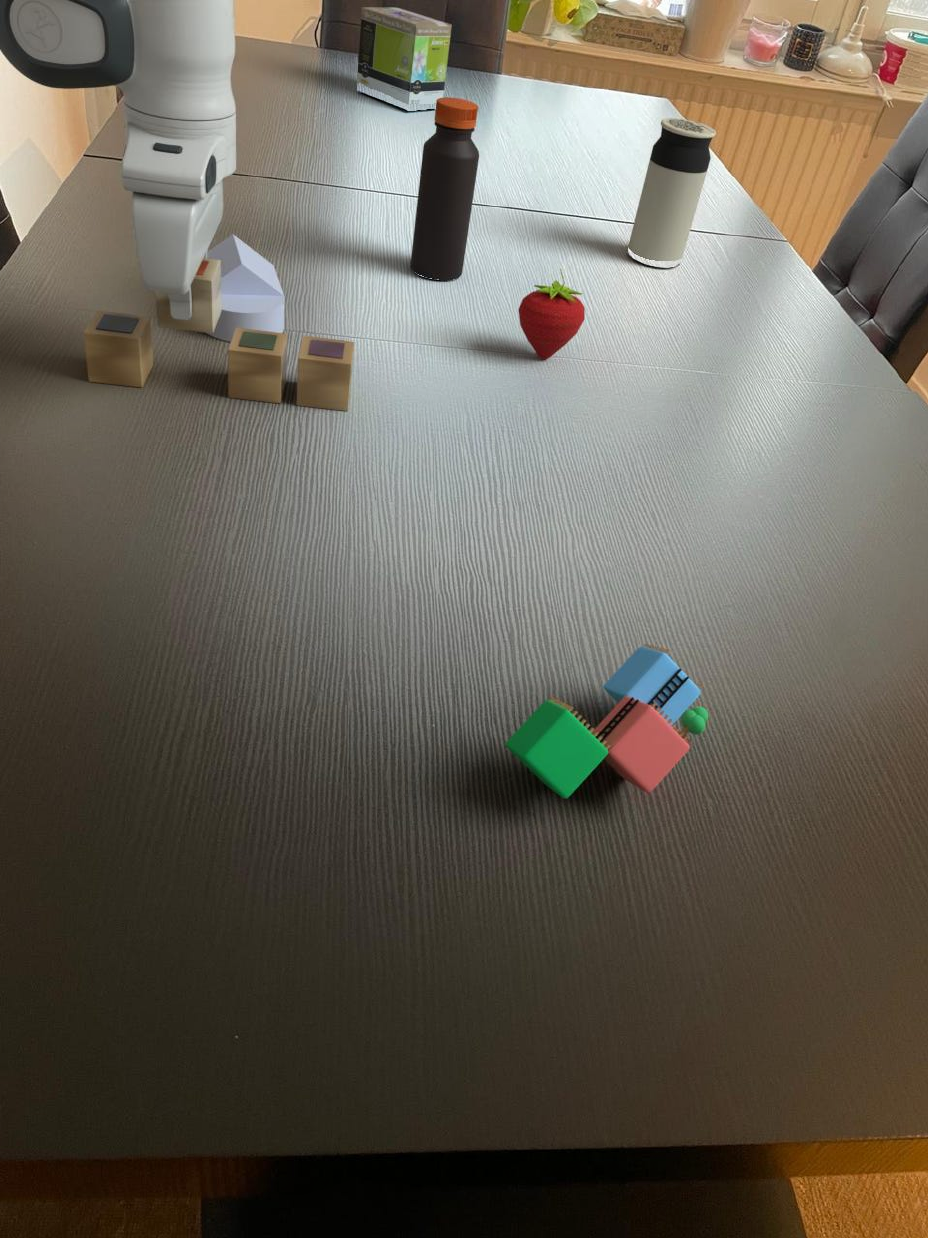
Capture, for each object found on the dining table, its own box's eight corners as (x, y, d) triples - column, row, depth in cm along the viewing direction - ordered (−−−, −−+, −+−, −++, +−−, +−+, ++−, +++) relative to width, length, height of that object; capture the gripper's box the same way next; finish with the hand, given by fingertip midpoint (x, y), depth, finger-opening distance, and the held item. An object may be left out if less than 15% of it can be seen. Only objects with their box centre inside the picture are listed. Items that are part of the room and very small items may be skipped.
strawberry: (504, 345, 113) (519, 259, 107) (565, 347, 115) (584, 262, 109) (517, 369, 109) (534, 280, 102) (581, 371, 111) (602, 284, 104)
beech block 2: (228, 397, 95) (227, 348, 92) (235, 374, 99) (235, 325, 95) (280, 403, 95) (281, 354, 92) (286, 380, 99) (287, 332, 96)
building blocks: (563, 807, 68) (679, 680, 69) (610, 843, 60) (739, 700, 61) (485, 731, 66) (605, 602, 67) (523, 759, 58) (658, 612, 59)
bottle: (400, 271, 126) (418, 99, 113) (424, 257, 131) (444, 91, 118) (447, 286, 124) (471, 114, 111) (470, 271, 129) (495, 105, 116)
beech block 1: (88, 381, 93) (82, 330, 90) (101, 358, 97) (96, 308, 94) (142, 388, 94) (139, 337, 91) (153, 364, 98) (150, 315, 94)
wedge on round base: (192, 291, 112) (202, 342, 103) (190, 232, 108) (201, 279, 98) (272, 293, 115) (289, 343, 105) (274, 235, 110) (291, 282, 101)
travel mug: (637, 268, 139) (672, 131, 128) (619, 247, 145) (651, 114, 134) (688, 271, 141) (727, 137, 130) (668, 250, 147) (704, 120, 136)
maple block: (157, 327, 90) (153, 272, 87) (168, 305, 94) (165, 251, 91) (213, 333, 91) (211, 279, 87) (221, 311, 94) (220, 258, 91)
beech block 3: (296, 405, 96) (298, 356, 92) (301, 381, 99) (303, 334, 96) (347, 411, 96) (351, 363, 93) (350, 387, 100) (354, 340, 97)
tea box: (443, 109, 193) (454, 23, 183) (406, 113, 186) (415, 24, 177) (391, 88, 200) (398, 4, 190) (353, 91, 193) (359, 4, 184)
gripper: (168, 106, 90) (175, 257, 99) (114, 174, 74) (128, 345, 83) (238, 116, 91) (239, 265, 100) (199, 185, 75) (205, 354, 84)
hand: (188, 302), depth 91 cm, fingers closed on maple block, 5 cm apart
